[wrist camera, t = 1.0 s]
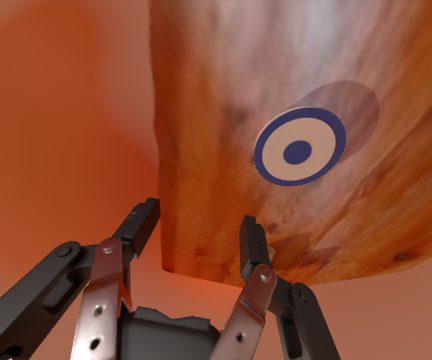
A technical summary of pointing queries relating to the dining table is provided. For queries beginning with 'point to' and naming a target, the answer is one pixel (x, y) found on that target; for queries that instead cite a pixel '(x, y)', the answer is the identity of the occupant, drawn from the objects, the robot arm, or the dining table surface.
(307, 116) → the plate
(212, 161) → the dining table surface
